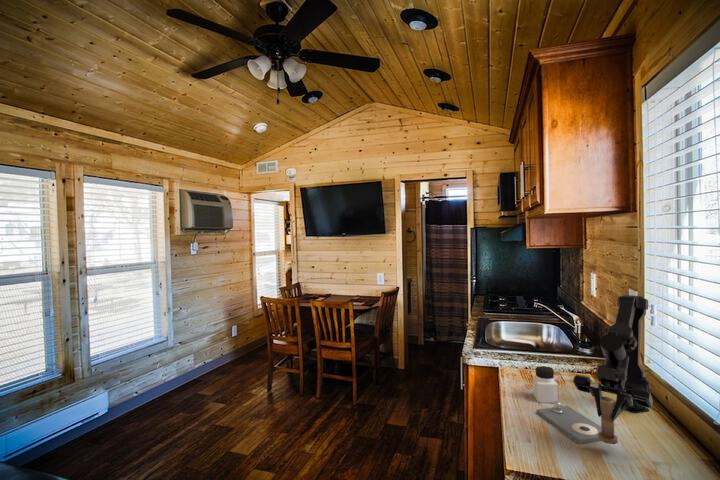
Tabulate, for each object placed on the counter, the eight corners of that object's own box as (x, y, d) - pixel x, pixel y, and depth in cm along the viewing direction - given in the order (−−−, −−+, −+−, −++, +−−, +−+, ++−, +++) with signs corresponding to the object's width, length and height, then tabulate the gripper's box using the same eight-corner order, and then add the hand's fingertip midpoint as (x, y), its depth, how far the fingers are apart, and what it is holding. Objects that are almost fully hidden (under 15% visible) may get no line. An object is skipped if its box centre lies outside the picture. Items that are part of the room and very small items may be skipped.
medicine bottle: (558, 403, 137) (557, 371, 137) (537, 402, 138) (536, 370, 138) (552, 395, 144) (551, 364, 144) (533, 394, 145) (532, 363, 145)
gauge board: (567, 409, 133) (567, 405, 133) (614, 438, 113) (614, 434, 113) (536, 413, 131) (536, 409, 130) (579, 444, 111) (579, 439, 111)
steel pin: (558, 408, 130) (558, 399, 130) (565, 413, 127) (565, 403, 127) (550, 409, 130) (550, 400, 130) (557, 414, 127) (556, 404, 127)
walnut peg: (608, 434, 109) (607, 395, 109) (621, 442, 105) (620, 402, 105) (594, 436, 109) (593, 396, 108) (607, 445, 104) (606, 403, 104)
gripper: (574, 348, 116) (562, 395, 108) (649, 361, 102) (641, 416, 95) (583, 366, 121) (572, 412, 114) (655, 381, 108) (648, 435, 100)
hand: (605, 418), depth 106 cm, fingers closed on walnut peg, 3 cm apart
